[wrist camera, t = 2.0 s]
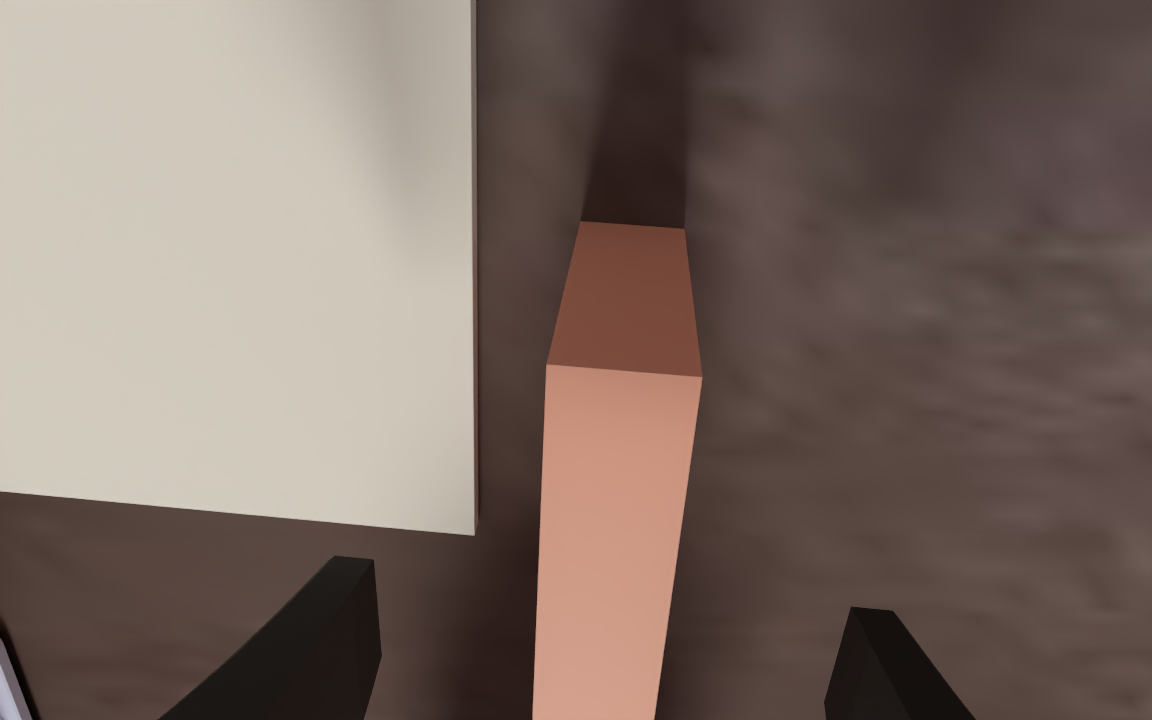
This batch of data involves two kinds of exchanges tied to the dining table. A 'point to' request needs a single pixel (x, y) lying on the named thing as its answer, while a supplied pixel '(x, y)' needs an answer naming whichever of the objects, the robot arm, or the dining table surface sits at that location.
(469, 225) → the mat
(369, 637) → the robot arm
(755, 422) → the dining table surface
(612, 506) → the slab
